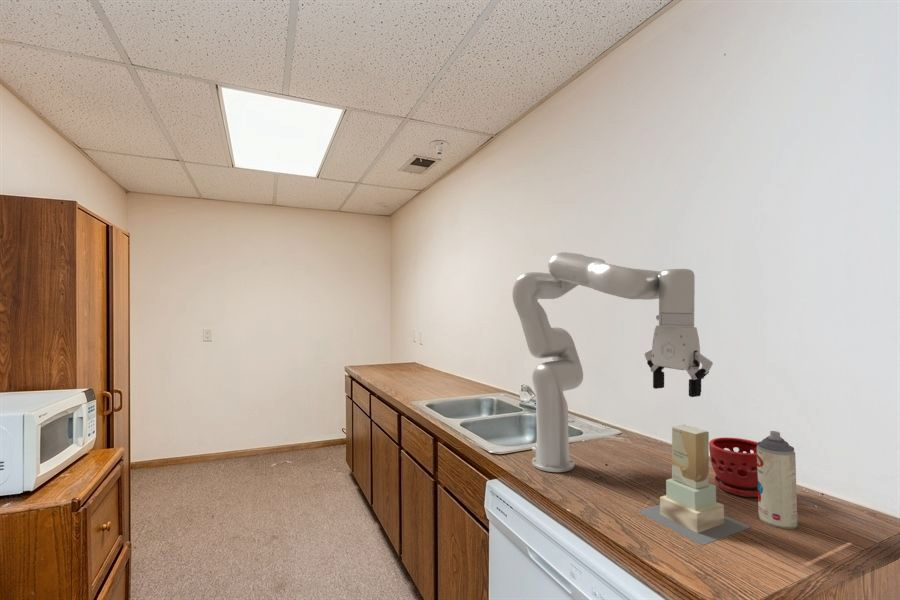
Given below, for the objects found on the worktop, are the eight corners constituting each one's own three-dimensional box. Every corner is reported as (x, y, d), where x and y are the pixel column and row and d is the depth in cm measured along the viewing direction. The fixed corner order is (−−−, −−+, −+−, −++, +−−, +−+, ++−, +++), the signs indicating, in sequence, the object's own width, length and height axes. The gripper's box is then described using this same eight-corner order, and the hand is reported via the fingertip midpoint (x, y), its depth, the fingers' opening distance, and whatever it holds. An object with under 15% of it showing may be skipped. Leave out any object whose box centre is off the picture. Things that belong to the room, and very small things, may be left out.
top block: (666, 497, 97) (665, 480, 97) (686, 491, 100) (686, 474, 100) (695, 510, 91) (694, 491, 91) (716, 504, 94) (715, 485, 94)
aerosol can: (760, 512, 99) (757, 426, 99) (798, 521, 94) (795, 431, 95) (757, 523, 94) (754, 432, 94) (797, 534, 89) (794, 438, 89)
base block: (660, 514, 97) (659, 496, 98) (686, 506, 101) (685, 489, 101) (697, 532, 89) (696, 513, 89) (724, 523, 93) (723, 505, 93)
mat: (636, 512, 99) (636, 511, 99) (682, 499, 106) (682, 497, 106) (702, 547, 85) (702, 545, 85) (751, 528, 91) (750, 527, 91)
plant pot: (707, 477, 120) (706, 434, 120) (764, 485, 114) (763, 440, 114) (713, 495, 108) (711, 448, 108) (777, 505, 102) (775, 455, 102)
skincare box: (671, 479, 97) (669, 426, 98) (683, 476, 99) (682, 423, 100) (697, 490, 92) (696, 433, 92) (710, 486, 93) (709, 430, 94)
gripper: (635, 319, 108) (635, 386, 108) (699, 322, 92) (699, 401, 92) (656, 318, 111) (656, 384, 111) (722, 322, 95) (721, 398, 95)
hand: (675, 392), depth 101 cm, fingers open, 9 cm apart
